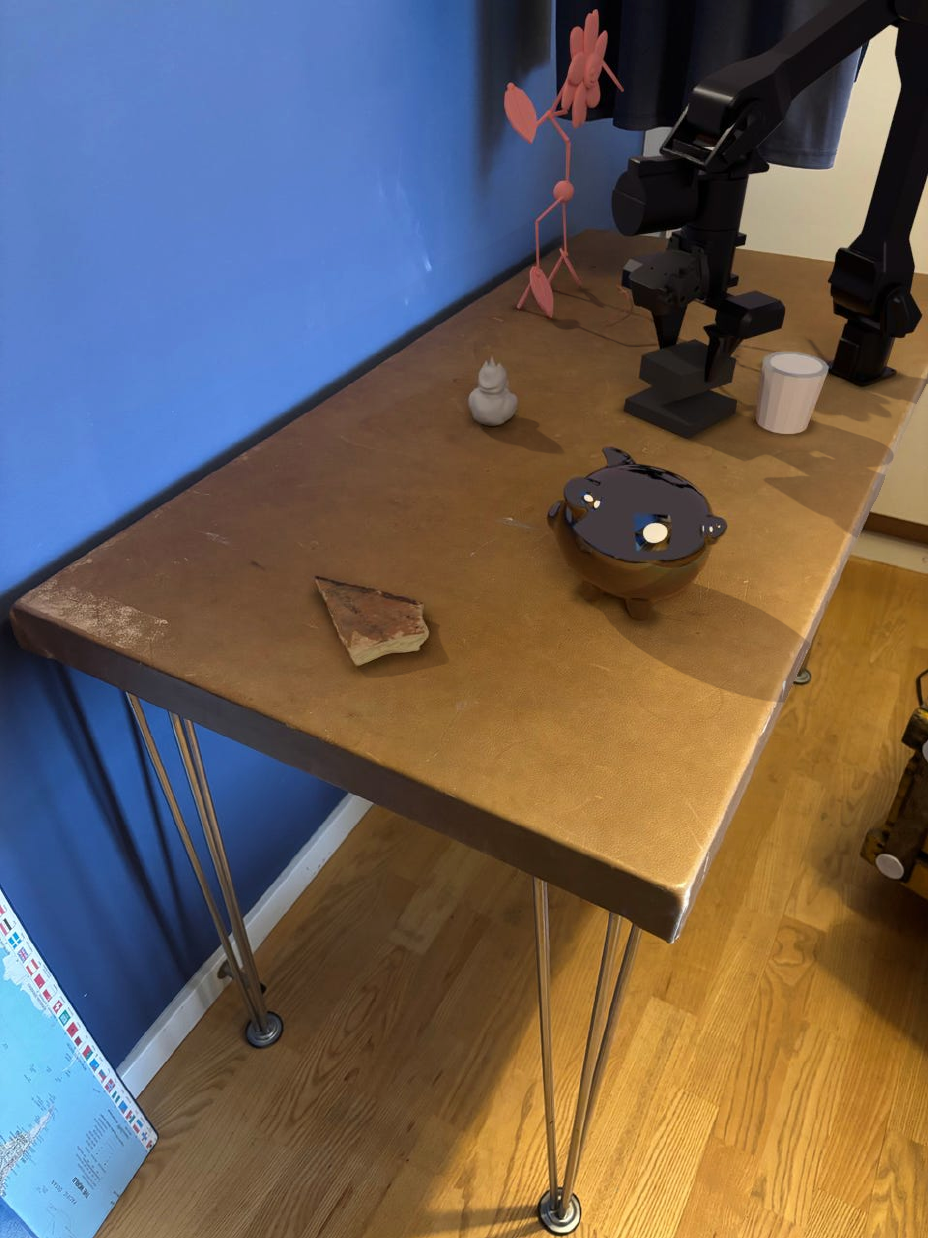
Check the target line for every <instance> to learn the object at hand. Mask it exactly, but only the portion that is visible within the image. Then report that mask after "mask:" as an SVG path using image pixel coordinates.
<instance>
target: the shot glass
mask: <svg viewBox="0 0 928 1238" xmlns="http://www.w3.org/2000/svg"><path fill="white" fill-rule="evenodd" d="M828 369H829V366H828V365H827V364H826V361H825V360H823V359H822V358H820V357H819V356H814V355H812V354H809V353H805V352H799V351H794V350H793V351H792V350H791V351H790V350H789V351H788V350H787V351H784V350H782V351H776V352H771V353H769V354H767V355H765V356H764V358H763V360H762V365H761V375H760V382H759V391H758V397H757V407H756V414H755V421H756V423H757V425H758V426H760V427H761V428H763V429H764V430H766V431H768V432H771V433H775V434H781V435H794V434H799V433H803V432H804V431H806V430H807V428H808V425H809V423H810V420H811V418H812V415H813V412H814V410H815V407H816V404H817V403H818V402H817V401H818V399H819V397H820V394H821V390H822V389H823V386H824V383H825V380H826V377H827V375H828V373H829V371H828Z"/></svg>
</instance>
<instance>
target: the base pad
mask: <svg viewBox="0 0 928 1238" xmlns="http://www.w3.org/2000/svg"><path fill="white" fill-rule="evenodd" d="M738 402H739V401H738V400H737V399H735V398H732V397H729V396H727V395H724V394H723V393H720V392H717V391H716V390H715V391H714V390H713V389H711V390H708V391H705V392H702V393H699V394H696V395H693V396H690V397H687V398H684V399H681V400H678V399H676V398H674V397H672V396H670V395H668V394H667V393H665V392H663V391H661V390H659V389H657V388H656V387H654V386H652V385H650V386H649V387H646V388H645V389H642V390H640V391H638V392H636V393H634V394H632V395H630V396H628V397H626V398H625V399H624V406H623V407H624V408H623V412H625V413H627V414H629V415H632V416H634V417H637V418H639V419H640V420H643V421H645V422H648V423H651V424H653V425H655V426H656V427H659V428H661V429H663V430H666V431H669V432H670V433H673V434H675V435H677V436H680V437H682V438H685V439H687V440H688V439H690V438H692V437H694V436H696V435H697V434H699V433H702V432H703V431H705V430H707V429H708V428H711V427H712V426H714V425H716V424H718V423H720V422H721V421H724V420H725V419H727V418H729V417H731V416H732V415H735V414H736V412H737V411H736V410H737V407H738Z"/></svg>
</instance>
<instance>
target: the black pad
mask: <svg viewBox="0 0 928 1238" xmlns="http://www.w3.org/2000/svg"><path fill="white" fill-rule="evenodd" d="M707 351H708V344H706V343H704V342H702V341H700V340H698V339H697V338H693V339H689V340H687V341H682V342H680V343H676V345H673V346H670V347H666V348H663V349H659V348H658V349H656V350H653V351H649V352H646V353H642V354H641V358H640V366H639V373H638V379H639V380H641V381H643V382H644V383H646V384H649V385H650V386H654V387H656V388H657V389H659V390H661V391H663V392H665V393H667V394H668V395H670V396H672V397H674V398H676V399H678V400H681V399H684V398H687V397H690V396H693V395H696V394H699V393H702V392H705V391H708V390H714V389H717V388H719V387H723V386H726V385H729V384H731V383H732V382H733V379H734V374H735V369H736V365H737V364H736V363H737V358H736V357H734V356H732V355H731V357H730V358H729V359H728V361H727V362H726V364H725V365H724V366H723V368H722V369H721V371H720V372H719V373H718V375H717V376H716V378H715V379H714V380H713V381H711V382H708V383H707V382H705V381H704V378H705V364H706V358H707Z"/></svg>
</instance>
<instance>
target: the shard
mask: <svg viewBox="0 0 928 1238" xmlns="http://www.w3.org/2000/svg"><path fill="white" fill-rule="evenodd" d="M314 579H315V583H316V586H317V588H318V592H319V593H320V594H321V596H322V599H323V601H324V602H325V603H326V604H327V605H326V606H327V610H328V612H329V615H330V616H331V619H332V622H333V624H334V627H335V628H336V630H337V634H338V637H339V639H340V640H341V642H342V644H343V645H344V646H345V648H346V651H347V652H348V655H349V656H350V659H351V660H352V662H353V663H354V666H356V667H359V666H362V665H364V664H366V663H369V662H371V661H374V660H376V659H378V658H381V657H382V656H386V655H389V654H396V653H397V654H399V653H400V654H401V653H410V652H418V651H420V650H421V648H420V647H421V645H423V644H424V643H425V641H427V639H428V638H429V636H430V631H429V628H428V626H427V624H426V622H425V620H424V617H423V614H424V608H425V602H422V601H419V600H416V599H412V598H410V597H406V596H402V595H394V594H393V593H391V592H388V591H383V590H379V589H376V588H373V587H367V586H365V585H364V586H363V585H358V584H353V583H348V582H342V581H337V580H334V579H329V578H327V577H322V576H319V575H314Z"/></svg>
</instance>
